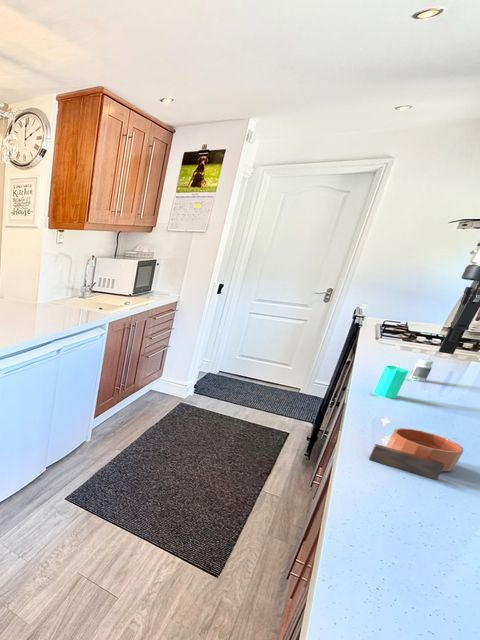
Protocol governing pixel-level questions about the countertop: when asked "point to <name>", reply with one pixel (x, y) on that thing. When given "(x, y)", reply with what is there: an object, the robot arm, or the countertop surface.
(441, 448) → the bowl
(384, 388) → the candle
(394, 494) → the countertop surface
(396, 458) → the bar
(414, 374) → the pill bottle
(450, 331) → the robot arm
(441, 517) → the countertop surface
